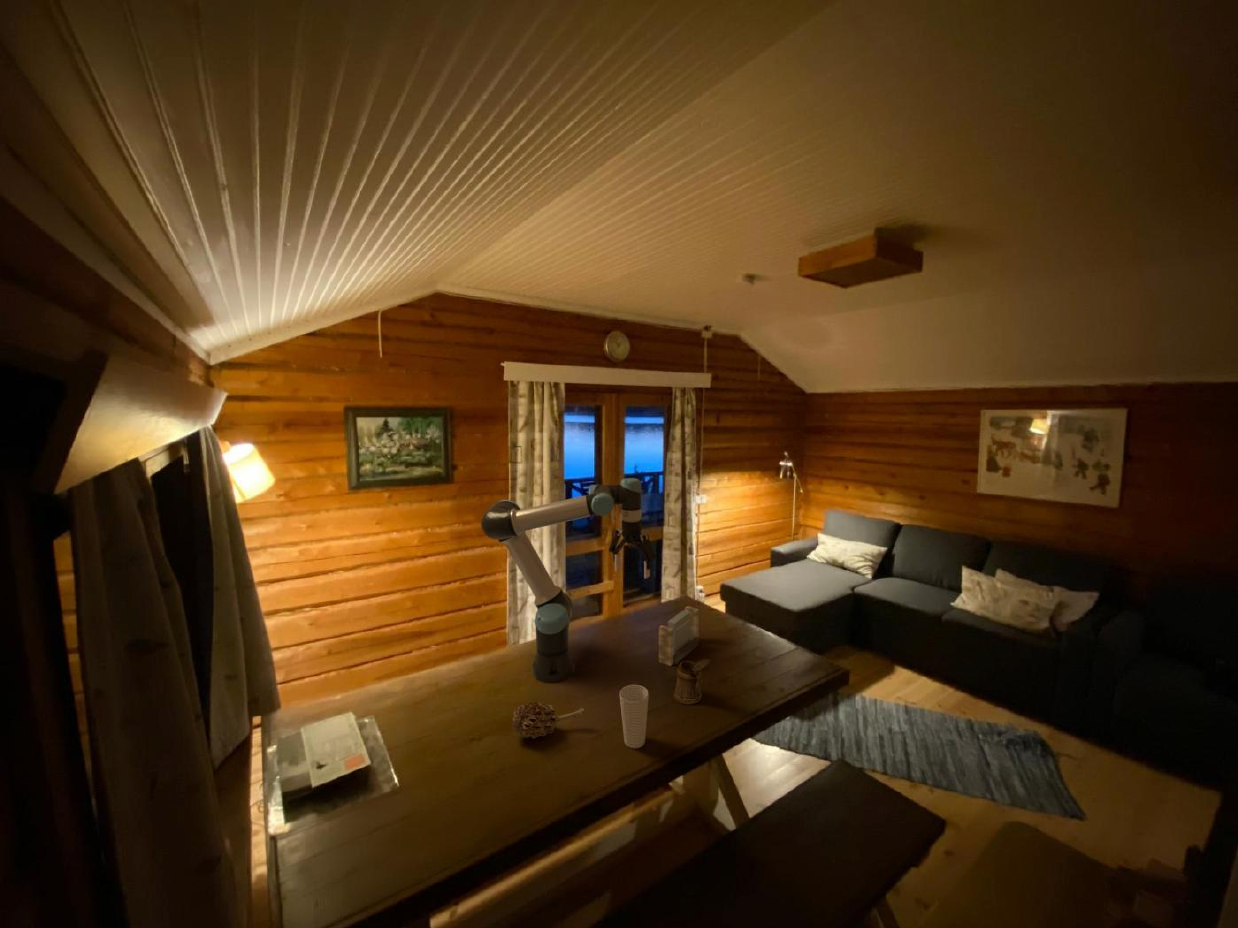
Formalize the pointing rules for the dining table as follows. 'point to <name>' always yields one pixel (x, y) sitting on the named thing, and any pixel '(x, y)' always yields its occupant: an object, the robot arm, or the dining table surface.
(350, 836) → the dining table surface
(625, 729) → the cup
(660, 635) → the u-shaped holder
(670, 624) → the door panel
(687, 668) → the wooden mug
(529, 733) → the dried seed pod
